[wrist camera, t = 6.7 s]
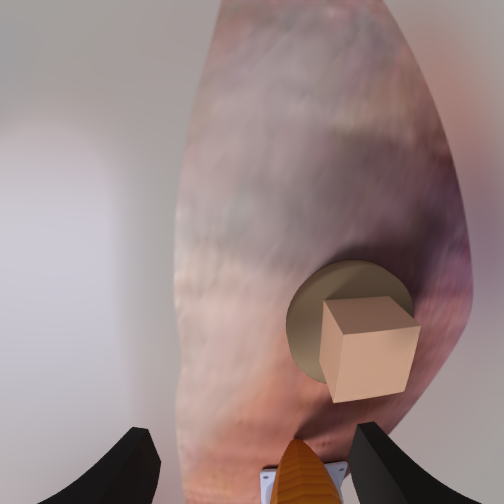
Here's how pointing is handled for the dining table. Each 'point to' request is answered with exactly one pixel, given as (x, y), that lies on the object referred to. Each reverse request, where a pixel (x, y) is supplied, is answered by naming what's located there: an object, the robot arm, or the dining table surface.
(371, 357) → the tan block
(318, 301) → the olive round dish
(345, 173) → the dining table surface
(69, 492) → the robot arm
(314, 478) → the carrot
